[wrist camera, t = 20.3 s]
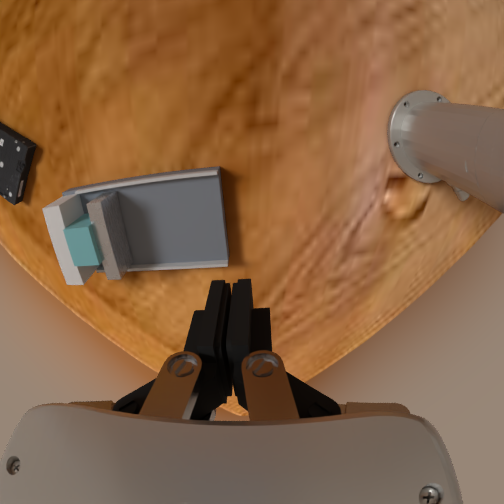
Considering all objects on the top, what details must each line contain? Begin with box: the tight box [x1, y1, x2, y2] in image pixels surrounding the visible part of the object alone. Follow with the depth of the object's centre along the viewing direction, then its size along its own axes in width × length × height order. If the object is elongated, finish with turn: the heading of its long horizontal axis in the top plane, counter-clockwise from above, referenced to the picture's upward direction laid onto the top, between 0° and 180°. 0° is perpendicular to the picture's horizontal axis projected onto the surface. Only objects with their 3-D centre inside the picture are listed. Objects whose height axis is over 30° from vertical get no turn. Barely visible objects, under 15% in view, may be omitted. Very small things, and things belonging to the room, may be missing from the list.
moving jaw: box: [86, 191, 133, 280], centre depth 33 cm, size 2×10×4 cm, turn 4°
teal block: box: [63, 213, 102, 266], centre depth 33 cm, size 4×5×6 cm
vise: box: [43, 166, 229, 285], centre depth 34 cm, size 22×12×7 cm, turn 94°
